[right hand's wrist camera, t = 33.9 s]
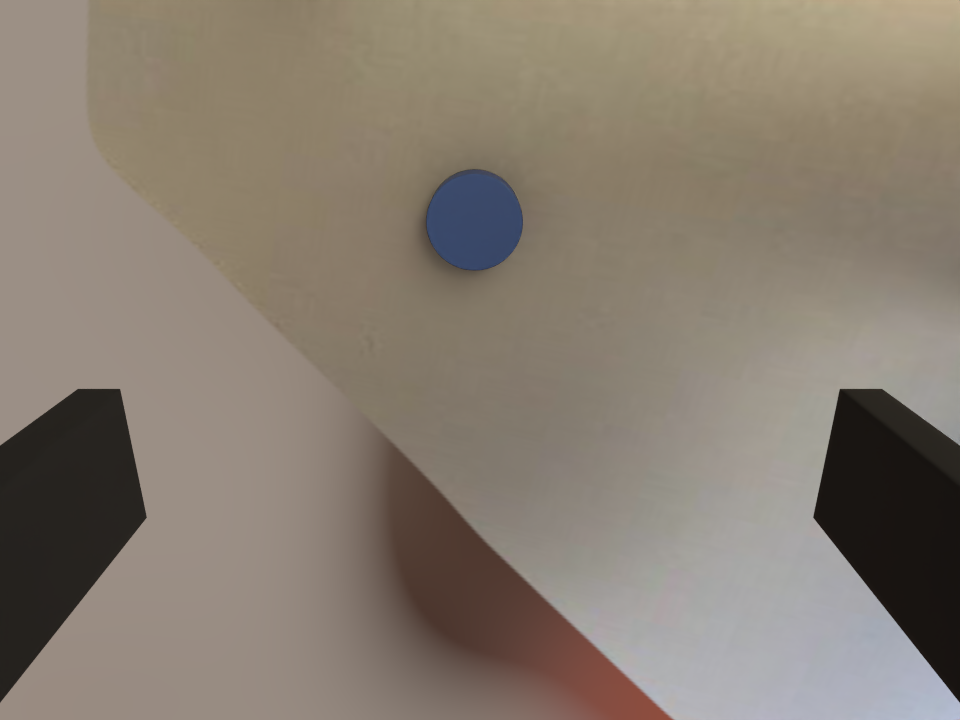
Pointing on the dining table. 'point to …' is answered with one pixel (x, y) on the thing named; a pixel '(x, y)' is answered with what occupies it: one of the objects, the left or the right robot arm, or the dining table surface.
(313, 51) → the dining table surface
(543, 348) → the dining table surface
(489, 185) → the lid
